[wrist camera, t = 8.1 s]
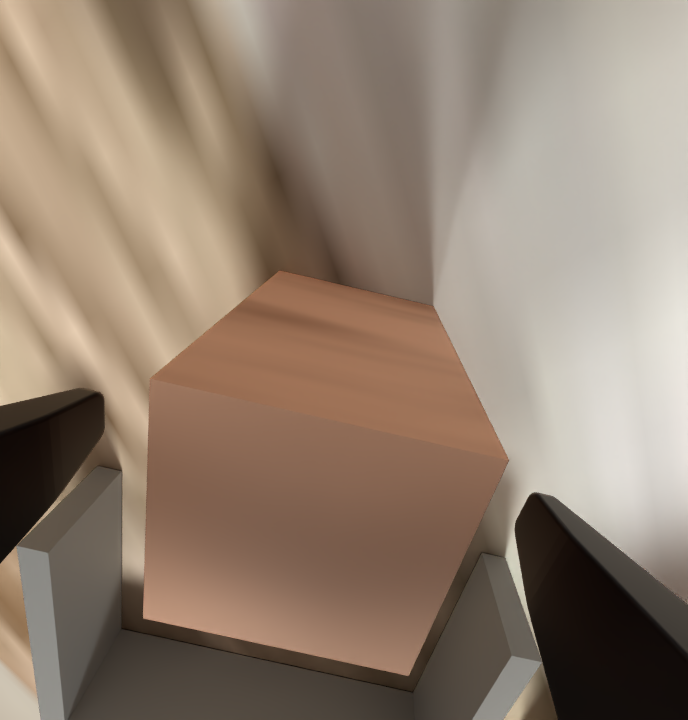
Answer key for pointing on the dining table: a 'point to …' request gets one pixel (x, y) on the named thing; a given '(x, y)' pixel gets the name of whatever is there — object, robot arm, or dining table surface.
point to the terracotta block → (315, 474)
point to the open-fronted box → (228, 670)
